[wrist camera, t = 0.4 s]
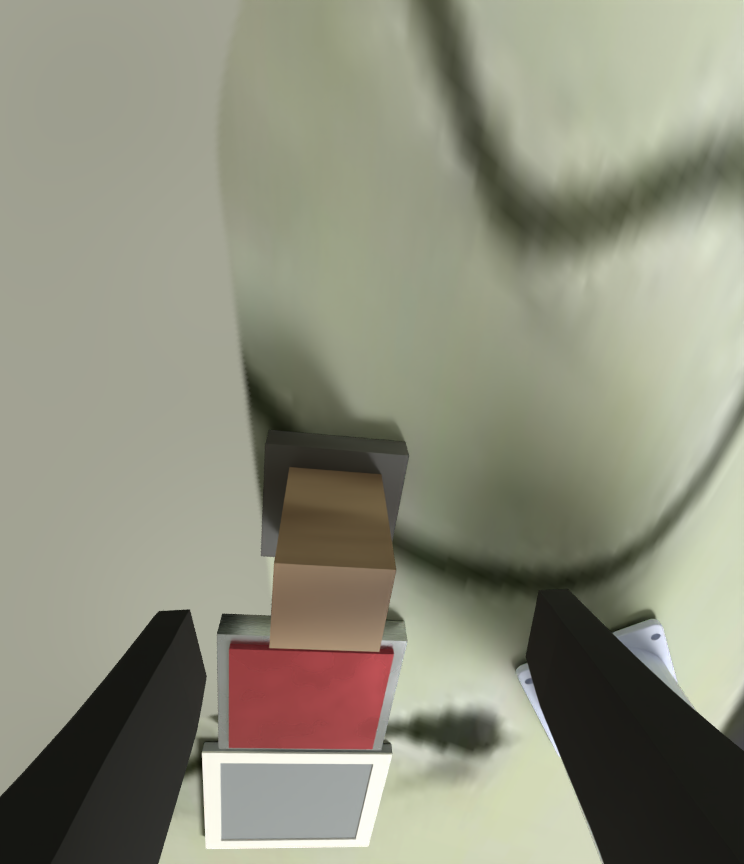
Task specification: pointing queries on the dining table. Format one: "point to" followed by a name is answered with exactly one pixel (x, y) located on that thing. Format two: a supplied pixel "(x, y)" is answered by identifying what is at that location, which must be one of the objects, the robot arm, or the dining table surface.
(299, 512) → the stamp
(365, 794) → the marked square
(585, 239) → the dining table surface
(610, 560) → the dining table surface
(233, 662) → the ink pad
